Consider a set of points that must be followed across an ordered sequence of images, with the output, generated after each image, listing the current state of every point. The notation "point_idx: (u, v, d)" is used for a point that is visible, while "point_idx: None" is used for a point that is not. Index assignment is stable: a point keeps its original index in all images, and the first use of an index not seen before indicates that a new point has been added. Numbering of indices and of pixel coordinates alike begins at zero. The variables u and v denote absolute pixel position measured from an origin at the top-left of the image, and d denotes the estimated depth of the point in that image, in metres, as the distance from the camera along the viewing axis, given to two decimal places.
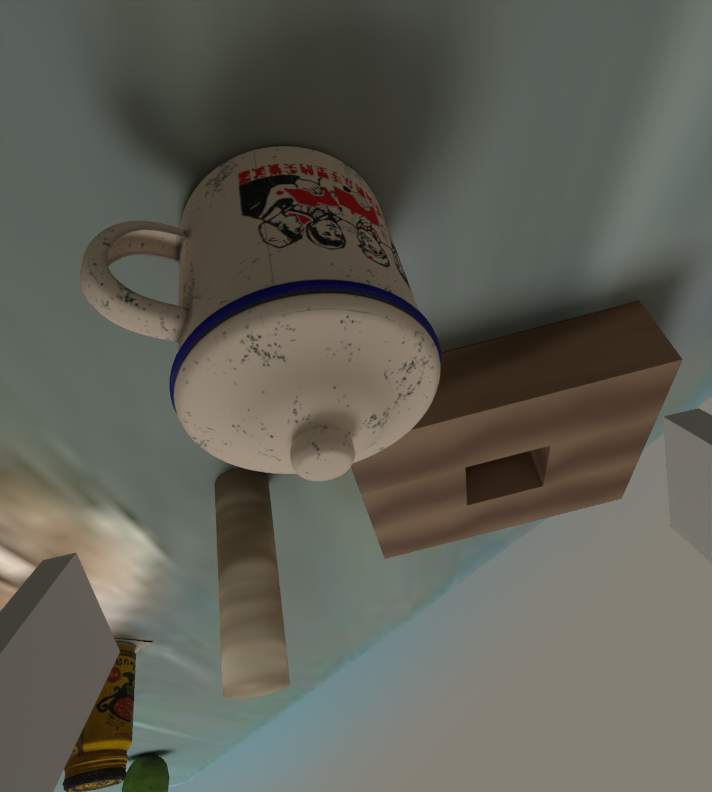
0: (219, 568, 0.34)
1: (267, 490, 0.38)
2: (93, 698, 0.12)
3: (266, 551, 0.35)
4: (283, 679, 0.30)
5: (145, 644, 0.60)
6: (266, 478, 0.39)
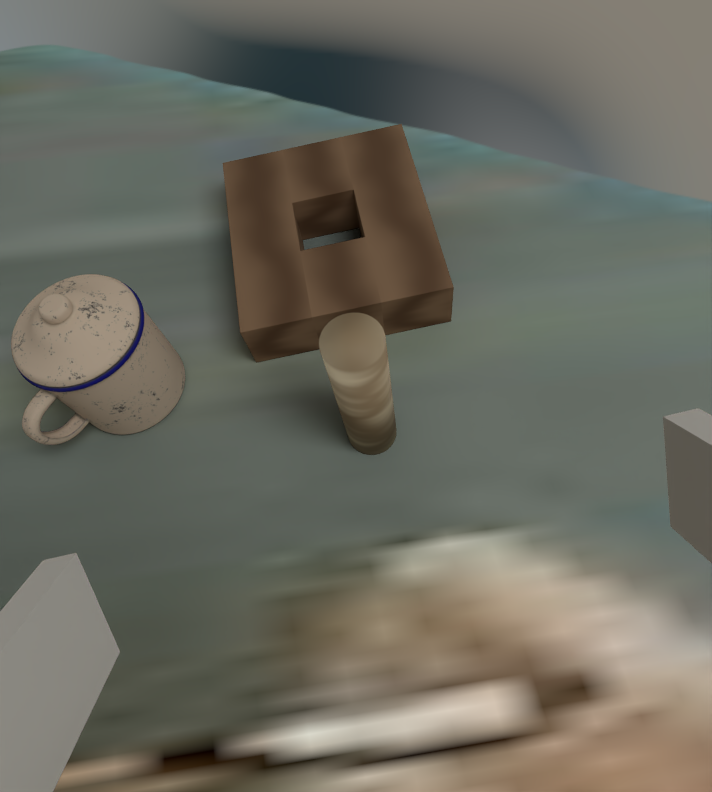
0: (351, 419, 0.36)
1: None
2: (93, 698, 0.12)
3: None
4: (337, 316, 0.31)
5: None
6: None
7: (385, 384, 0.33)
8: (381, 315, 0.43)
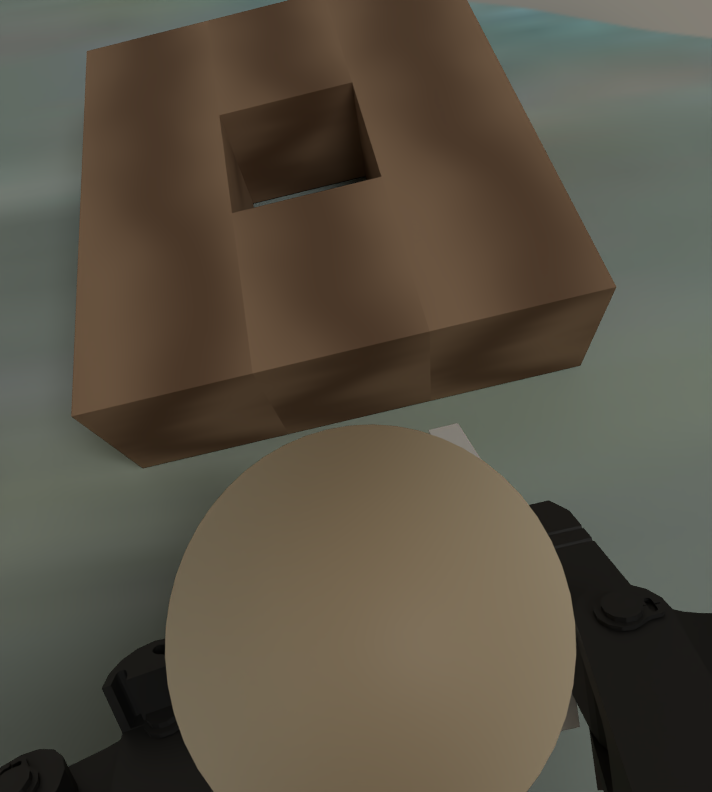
0: None
1: None
2: None
3: None
4: (282, 450, 0.06)
5: None
6: None
7: None
8: (427, 361, 0.18)
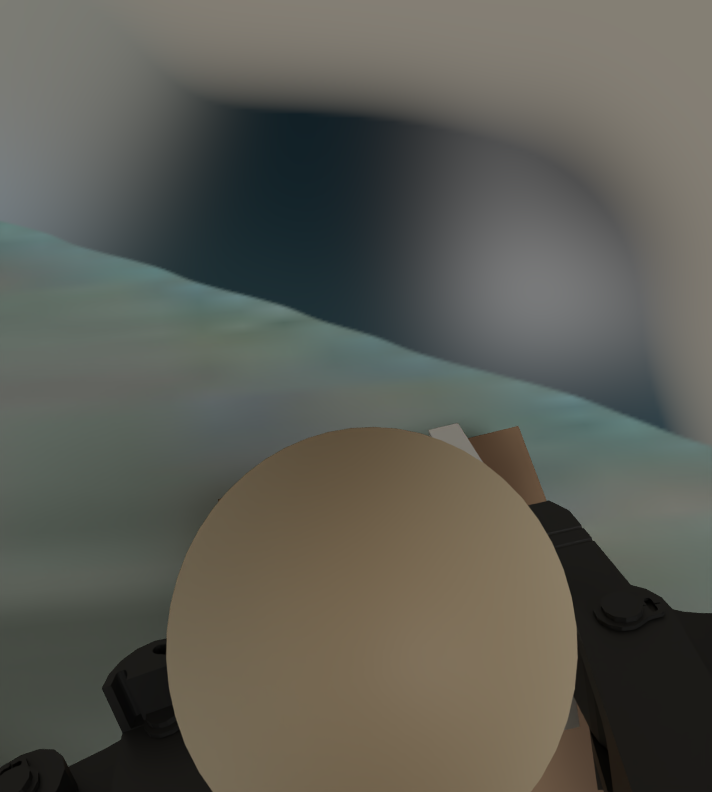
0: None
1: None
2: None
3: None
4: (283, 453, 0.06)
5: None
6: None
7: None
8: None
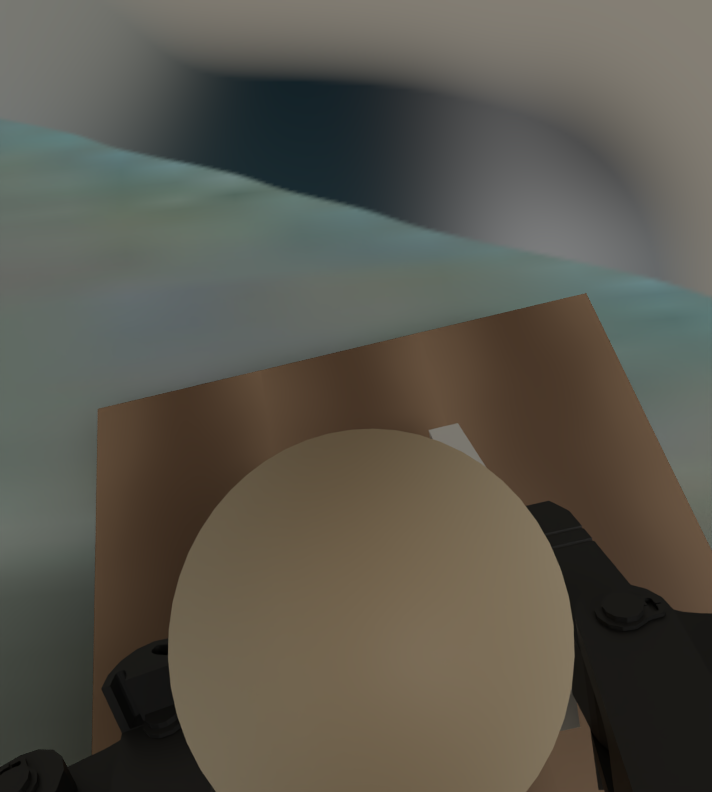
0: None
1: None
2: None
3: None
4: (284, 455, 0.06)
5: None
6: None
7: None
8: None
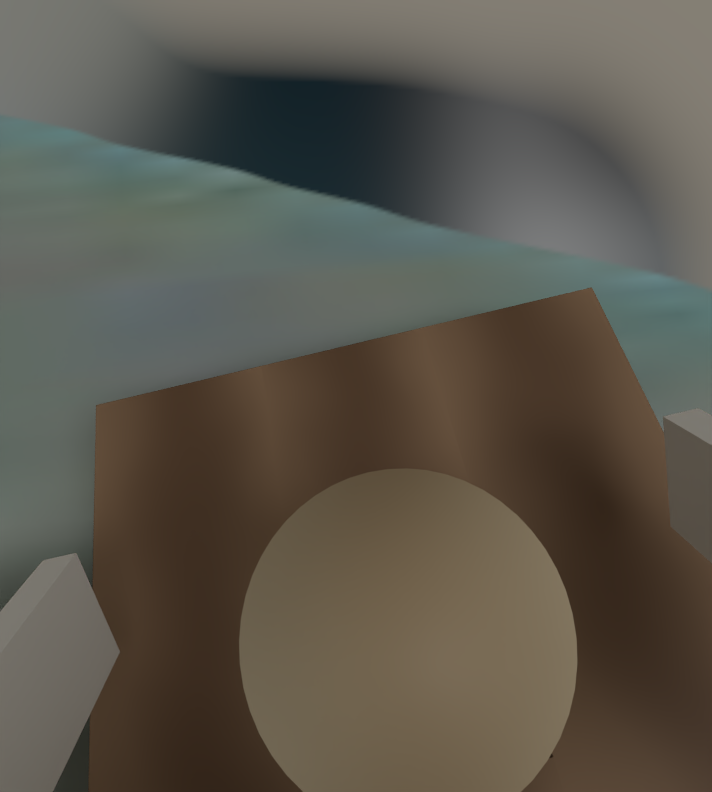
0: None
1: None
2: (93, 698, 0.12)
3: None
4: (330, 490, 0.07)
5: None
6: None
7: None
8: None
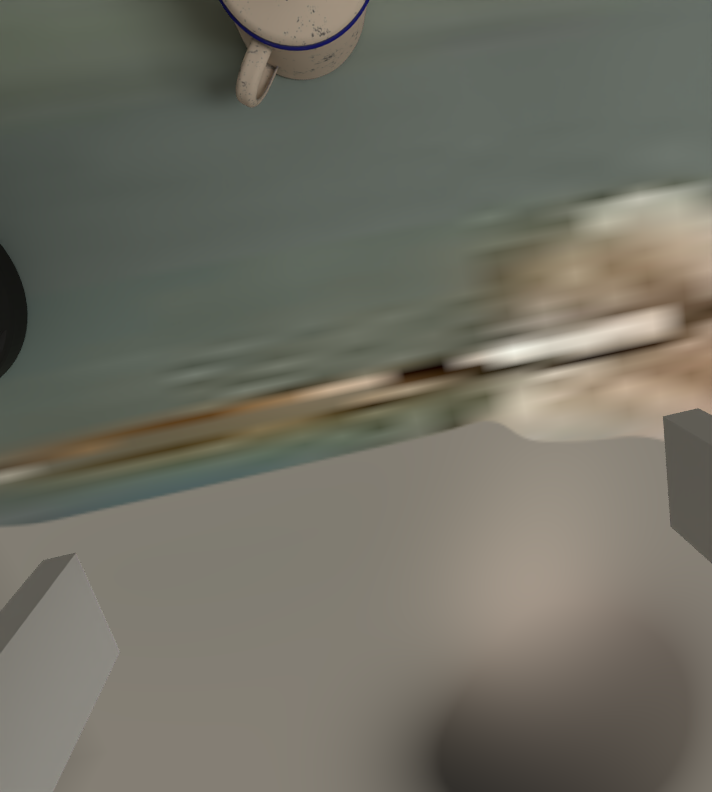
0: None
1: None
2: (93, 698, 0.12)
3: None
4: None
5: None
6: None
7: None
8: None
